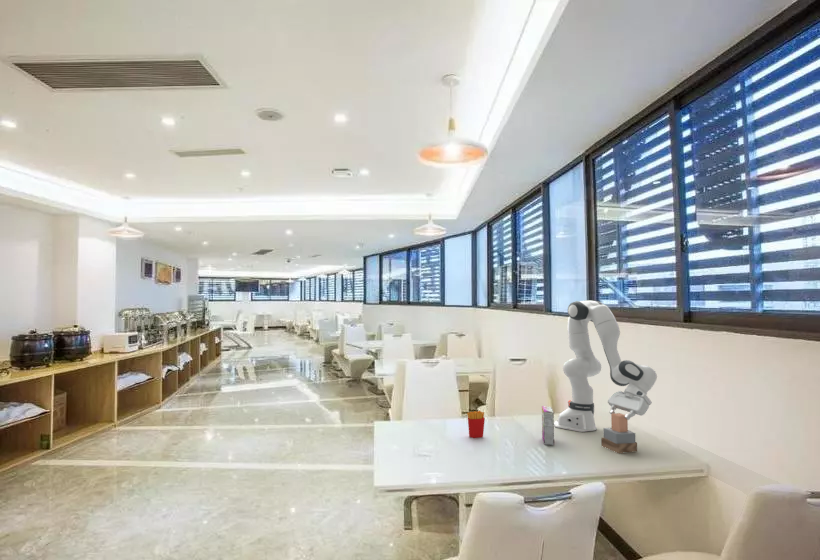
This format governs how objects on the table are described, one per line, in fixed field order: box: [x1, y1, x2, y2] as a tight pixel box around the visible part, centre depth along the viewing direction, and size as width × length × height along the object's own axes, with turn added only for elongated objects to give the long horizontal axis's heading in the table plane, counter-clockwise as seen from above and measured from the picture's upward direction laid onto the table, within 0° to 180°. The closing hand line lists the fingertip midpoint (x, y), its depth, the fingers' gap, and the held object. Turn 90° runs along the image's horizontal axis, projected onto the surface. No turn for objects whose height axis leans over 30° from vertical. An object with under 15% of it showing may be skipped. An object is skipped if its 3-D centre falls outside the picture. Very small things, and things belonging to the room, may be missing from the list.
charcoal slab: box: [603, 427, 637, 444], centre depth 212 cm, size 10×10×4 cm
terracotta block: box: [610, 412, 629, 432], centre depth 213 cm, size 5×5×8 cm
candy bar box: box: [541, 405, 555, 446], centre depth 221 cm, size 11×5×16 cm, turn 168°
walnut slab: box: [601, 436, 638, 454], centre depth 212 cm, size 11×11×4 cm
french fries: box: [466, 410, 485, 439], centre depth 228 cm, size 9×4×13 cm, turn 104°
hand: (618, 416), depth 213 cm, fingers open, 8 cm apart
